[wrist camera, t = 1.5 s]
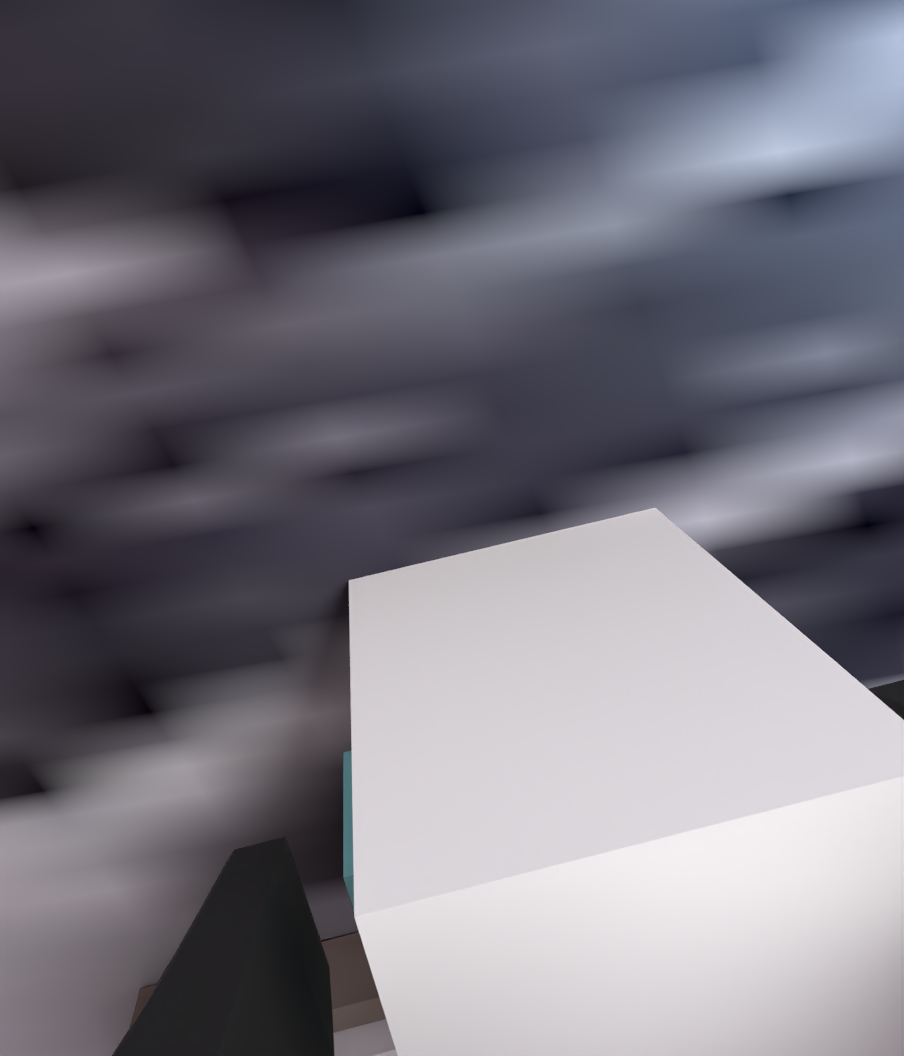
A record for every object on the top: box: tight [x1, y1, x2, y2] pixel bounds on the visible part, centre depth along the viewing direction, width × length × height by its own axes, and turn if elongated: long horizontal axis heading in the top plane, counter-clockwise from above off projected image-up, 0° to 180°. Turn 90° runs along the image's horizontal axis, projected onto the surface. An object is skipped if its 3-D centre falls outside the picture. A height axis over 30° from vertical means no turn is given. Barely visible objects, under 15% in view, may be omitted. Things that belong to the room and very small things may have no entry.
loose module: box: [343, 508, 904, 1056], centre depth 11 cm, size 5×4×7 cm
